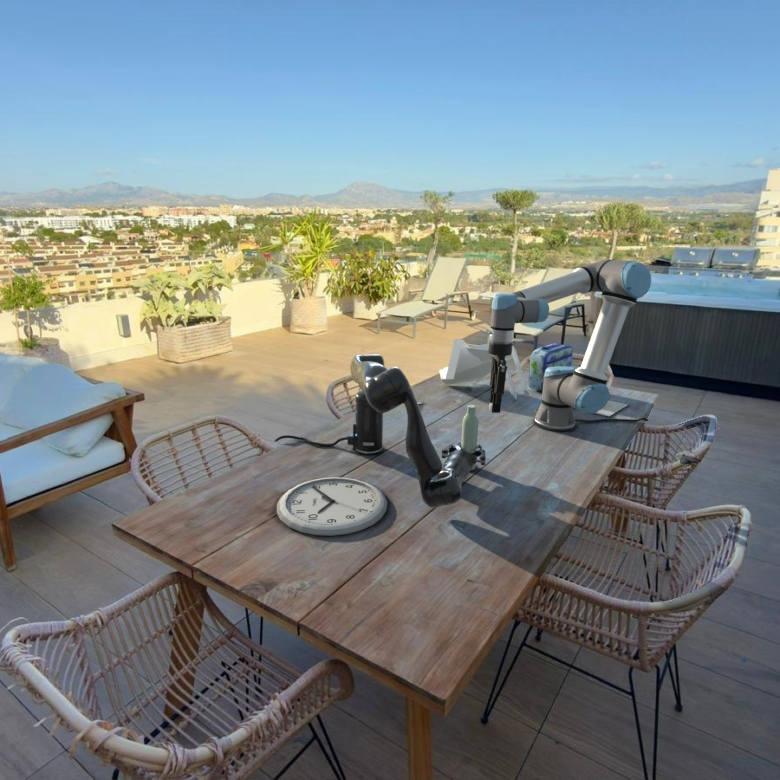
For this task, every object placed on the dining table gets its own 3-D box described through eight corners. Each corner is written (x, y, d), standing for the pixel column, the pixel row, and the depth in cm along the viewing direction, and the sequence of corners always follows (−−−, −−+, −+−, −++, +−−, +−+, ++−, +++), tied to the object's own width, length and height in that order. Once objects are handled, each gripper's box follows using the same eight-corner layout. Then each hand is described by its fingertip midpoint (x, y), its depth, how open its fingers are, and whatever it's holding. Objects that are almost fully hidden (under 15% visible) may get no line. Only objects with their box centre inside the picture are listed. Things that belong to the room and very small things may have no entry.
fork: (408, 411, 216) (408, 407, 215) (419, 400, 230) (419, 396, 229) (414, 412, 215) (414, 407, 214) (425, 401, 229) (425, 396, 229)
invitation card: (608, 416, 214) (573, 407, 224) (608, 416, 214) (573, 408, 224) (628, 404, 229) (594, 396, 238) (628, 405, 229) (594, 397, 238)
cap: (486, 408, 177) (487, 402, 177) (497, 407, 178) (497, 402, 178) (492, 411, 174) (492, 406, 173) (502, 411, 175) (503, 405, 174)
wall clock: (392, 527, 129) (268, 531, 127) (391, 533, 130) (269, 537, 127) (383, 473, 158) (282, 475, 155) (383, 478, 158) (282, 480, 156)
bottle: (468, 462, 170) (472, 402, 164) (478, 468, 166) (483, 407, 160) (456, 466, 168) (460, 405, 161) (466, 471, 164) (471, 409, 158)
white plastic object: (461, 429, 252) (437, 405, 227) (444, 352, 274) (420, 323, 250) (535, 404, 240) (518, 377, 215) (510, 326, 262) (492, 293, 237)
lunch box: (544, 395, 239) (549, 351, 233) (524, 390, 247) (528, 347, 240) (571, 384, 257) (577, 343, 251) (552, 380, 264) (556, 339, 258)
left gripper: (482, 459, 149) (493, 438, 164) (434, 451, 154) (449, 431, 169) (480, 483, 151) (492, 460, 166) (433, 474, 156) (448, 452, 171)
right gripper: (484, 336, 177) (479, 402, 184) (494, 347, 161) (488, 418, 168) (506, 337, 177) (500, 402, 184) (518, 347, 161) (511, 419, 168)
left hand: (470, 445), depth 167 cm, fingers closed on bottle, 5 cm apart
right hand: (494, 410), depth 176 cm, fingers closed on cap, 4 cm apart
